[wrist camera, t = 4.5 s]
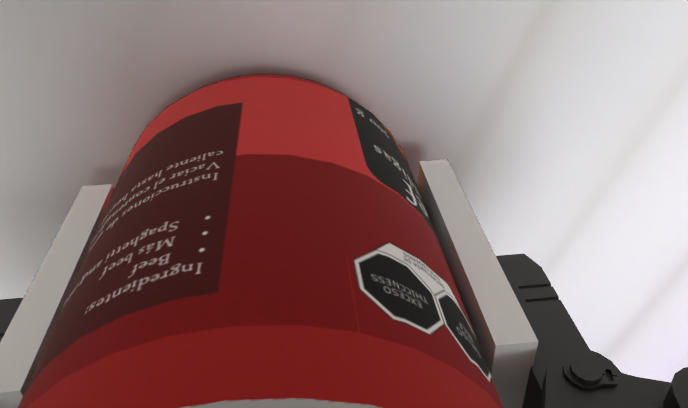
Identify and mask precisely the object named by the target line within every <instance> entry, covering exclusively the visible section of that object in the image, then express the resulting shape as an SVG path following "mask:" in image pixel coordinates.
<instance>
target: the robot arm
mask: <svg viewBox="0 0 688 408" xmlns="http://www.w3.org/2000/svg"><path fill="white" fill-rule="evenodd" d="M418 190H419V193H420V195H421V198H422V200H423V203H424V205H425V208H426V210H427V213H428V216H429V218H430V221H431V223H432V226H433V228H434V231H435V234H436V236H437V239H438V241H439V244H440V246H441V249H442V251H443V254H444V257H445V259H446V262H447V264H448V267H449V269H450V272H451V274H452V277H453V280H454V282H455V285H456V287H457V290H458V292H459V295H460V297H461V300H462V303H463V305H464V308H465V310H466V313H467V315H468V318H469V320H470V323H471V326H472V328H473V331H474V333H475V336H476V338H477V341H478V344H479V346H480V349H481V351H482V354H483V356H484V359H485V361H486V364H487V367H488V369H489V372H490V374H491V377H492V379H493V382H494V384H495V387H496V390H497V392H498V395H499V397H500V400H501V402H502V405H503V407H504V408H688V367H687V368H683V369H682V370H680V371H678V372H677V373H675V375H674V378H673V380H672V382H671V383H669V382H663V381H657V380H651V379H645V378H639V377H634V376H631V375H627V374H623V373H621V372H620V371H619V370H618V368H617V367H616V366H615V365H614V364H613V363H612V361H610V360H609V359H607V358H605V357H604V356H602V355H601V354H599V353H597V352H594V351H591V350H590V349H589V348H588V346H587V344H586V343H585V341H584V339H583V337H582V336H581V334H580V332H579V331H578V329H577V327H576V326H575V324H574V322H573V320H572V319H571V317H570V315H569V314H568V312H567V310H566V309H565V307H564V305H563V304H562V302H561V300H559V299H558V295H557V293H556V292H555V290H554V288H553V287H551V283H550V281H549V280H548V278H547V276H546V275H545V273H544V271H543V270H542V268H541V267H540V266H539V265H538V264H536V263H535V262H534V261H533V260H531V259H530V258H529V257H528V256H526V255H525V254H515V255H503V256H495V254H494V252H493V250H492V248H491V246H490V244H489V242H488V240H487V238H486V236H485V234H484V232H483V230H482V228H481V226H480V224H479V222H478V220H477V218H476V216H475V214H474V212H473V210H472V208H471V206H470V204H469V202H468V200H467V198H466V196H465V194H464V192H463V190H462V188H461V186H460V184H459V182H458V180H457V178H456V176H455V174H454V172H453V170H452V168H451V166H450V164H449V162H448V160H447V159H443V160H429V161H419V176H418ZM113 192H114V188H113V184H105V185H91V186H82V188H81V189H80V191H79V193H78V195H77V197H76V199H75V201H74V203H73V205H72V207H71V208H70V210H69V212H68V214H67V216H66V218H65V220H64V222H63V224H62V226H61V228H60V229H59V231H58V233H57V235H56V237H55V239H54V241H53V243H52V245H51V247H50V249H49V250H48V252H47V254H46V256H45V258H44V260H43V262H42V264H41V266H40V268H39V269H38V271H37V273H36V275H35V277H34V279H33V281H32V283H31V285H30V287H29V289H28V290H27V292H26V294H25V296H24V298H15V299H4V300H0V408H18V406H19V404H20V402H21V399H22V397H23V395H24V393H25V390H26V388H27V386H28V384H29V381H30V379H31V377H32V375H33V372H34V370H35V368H36V366H37V363H38V361H39V359H40V357H41V354H42V352H43V350H44V348H45V345H46V343H47V341H48V339H49V336H50V334H51V332H52V330H53V327H54V325H55V323H56V320H57V318H58V316H59V314H60V311H61V309H62V307H63V305H64V302H65V300H66V298H67V296H68V293H69V291H70V289H71V287H72V284H73V282H74V280H75V278H76V275H77V273H78V271H79V269H80V266H81V264H82V262H83V260H84V257H85V255H86V253H87V251H88V248H89V246H90V244H91V241H92V239H93V237H94V235H95V232H96V230H97V228H98V226H99V223H100V221H101V219H102V217H103V214H104V212H105V210H106V208H107V205H108V203H109V201H110V199H111V196H112V194H113Z"/></svg>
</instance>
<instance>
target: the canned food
mask: <svg viewBox="0 0 688 408" xmlns="http://www.w3.org/2000/svg"><path fill="white" fill-rule="evenodd" d="M18 408H504V407H503V405H502V402H501V400H500V397H499V395H498V392H497V390H496V387H495V384H494V382H493V379H492V377H491V374H490V372H489V369H488V367H487V364H486V361H485V359H484V356H483V354H482V351H481V349H480V346H479V344H478V341H477V338H476V336H475V333H474V331H473V328H472V326H471V323H470V320H469V318H468V315H467V313H466V310H465V308H464V305H463V303H462V300H461V297H460V295H459V292H458V290H457V287H456V285H455V282H454V280H453V277H452V274H451V272H450V269H449V267H448V264H447V262H446V259H445V257H444V254H443V251H442V249H441V246H440V244H439V241H438V239H437V236H436V234H435V231H434V228H433V226H432V223H431V221H430V218H429V216H428V213H427V210H426V208H425V205H424V203H423V200H422V198H421V195H420V193H419V190H418V187H417V185H416V182H415V180H414V177H413V175H412V172H411V170H410V167H409V164H408V162H407V159H406V157H405V154H404V152H403V151H402V149H401V148H400V146H399V145H398V143H397V141H396V140H395V138H394V137H393V135H392V134H391V132H390V131H389V130H388V129H387V128H386V127H385V126H384V125H383V124H382V123H381V122H380V121H379V120H378V119H377V118H376V117H375V116H374V115H373V114H372V113H371V112H369V111H368V110H366V109H365V108H363V107H362V106H360V105H359V104H357V103H356V102H354V101H353V100H351V99H350V98H348V97H346V96H345V95H343V94H342V93H340V92H338V91H336V90H334V89H331V88H329V87H327V86H324V85H322V84H319V83H317V82H315V81H311V80H306V79H302V78H297V77H293V76H288V75H272V74H253V75H246V76H239V77H232V78H227V79H224V80H221V81H219V82H216V83H213V84H210V85H207V86H204V87H202V88H200V89H198V90H196V91H194V92H192V93H190V94H189V95H187V96H185V97H184V98H182V99H180V100H178V101H177V102H175V103H173V104H172V105H170V106H168V107H167V108H166V109H165V110H164V111H163V112H162V113H161V114H160V115H159V116H157V117H156V118H155V119H154V120H153V121H152V122H151V123H150V124H149V125H148V126H147V127H146V129H145V130H144V132H143V133H142V135H141V136H140V138H139V139H138V141H137V142H136V144H135V146H134V147H133V149H132V151H131V153H130V156H129V158H128V160H127V163H126V165H125V167H124V169H123V172H122V174H121V176H120V178H119V181H118V183H117V185H116V187H115V190H114V192H113V194H112V196H111V199H110V201H109V203H108V205H107V208H106V210H105V212H104V214H103V217H102V219H101V221H100V223H99V226H98V228H97V230H96V232H95V235H94V237H93V239H92V241H91V244H90V246H89V248H88V251H87V253H86V255H85V257H84V260H83V262H82V264H81V266H80V269H79V271H78V273H77V275H76V278H75V280H74V282H73V284H72V287H71V289H70V291H69V293H68V296H67V298H66V300H65V302H64V305H63V307H62V309H61V311H60V314H59V316H58V318H57V320H56V323H55V325H54V327H53V330H52V332H51V334H50V336H49V339H48V341H47V343H46V345H45V348H44V350H43V352H42V354H41V357H40V359H39V361H38V363H37V366H36V368H35V370H34V372H33V375H32V377H31V379H30V381H29V384H28V386H27V388H26V390H25V393H24V395H23V397H22V399H21V402H20V404H19V406H18Z"/></svg>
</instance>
